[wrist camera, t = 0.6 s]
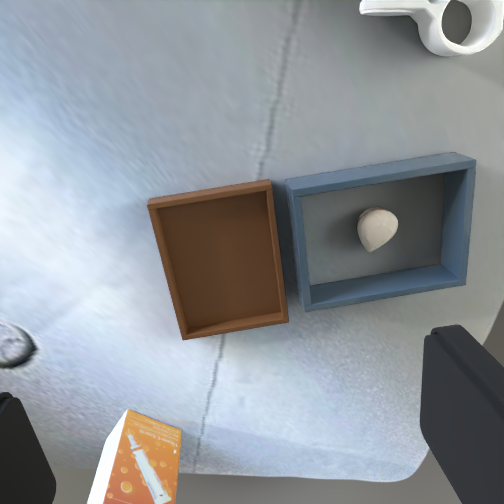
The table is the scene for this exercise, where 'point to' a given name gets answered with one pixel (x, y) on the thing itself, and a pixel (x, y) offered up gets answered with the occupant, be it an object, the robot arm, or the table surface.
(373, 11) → the white flat holed block
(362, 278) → the basin
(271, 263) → the tray
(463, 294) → the table surface
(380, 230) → the white teardrop piece
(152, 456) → the small box
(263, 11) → the table surface
